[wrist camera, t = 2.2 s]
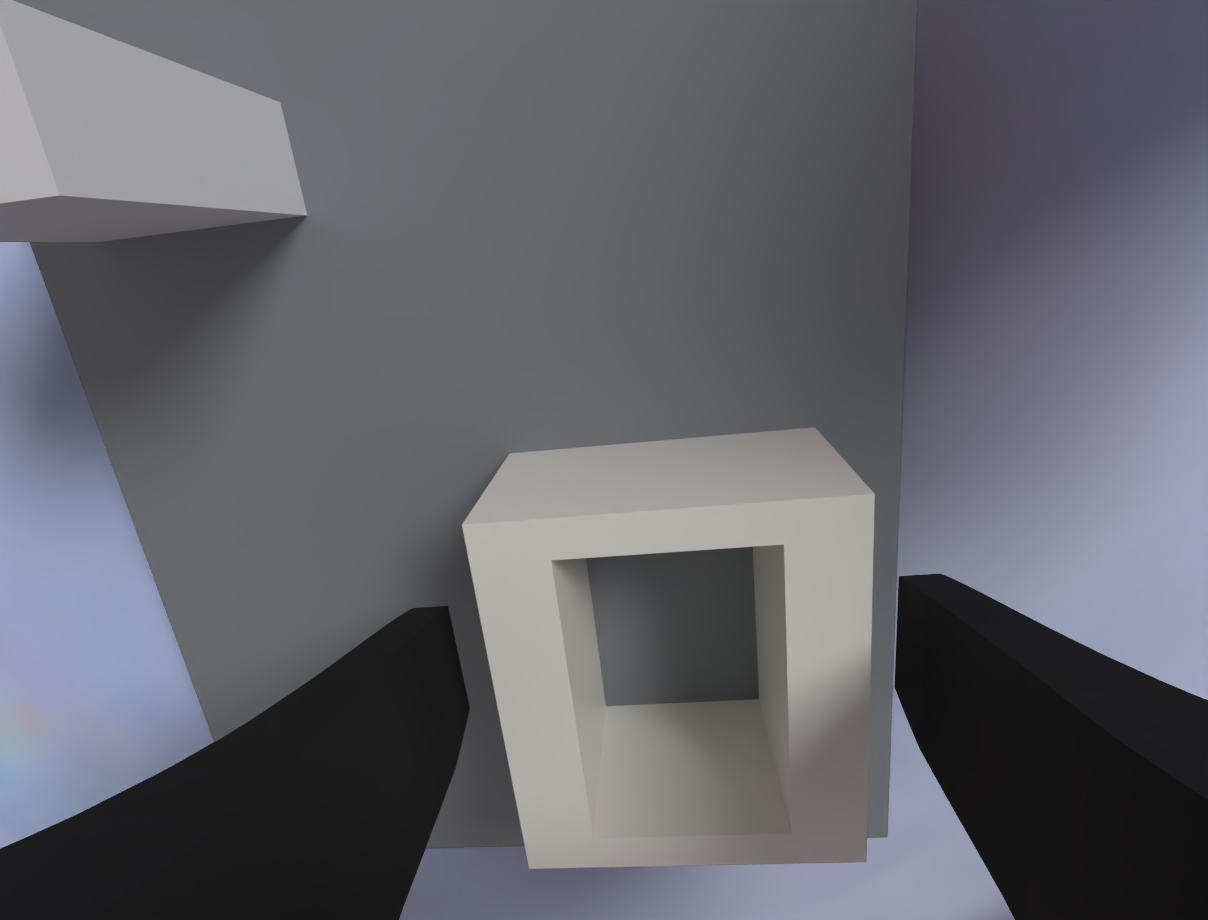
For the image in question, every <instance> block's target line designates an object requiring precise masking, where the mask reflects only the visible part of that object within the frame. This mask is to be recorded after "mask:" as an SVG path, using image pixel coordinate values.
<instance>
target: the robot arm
mask: <svg viewBox="0 0 1208 920" xmlns="http://www.w3.org/2000/svg"><path fill="white" fill-rule="evenodd" d="M895 689H896V692H897V694H898V697H899V699H900V702H901V704H902V707H903V710H904V712H905V715H906V717H907V720H908V722H909V725H910V727H911V729H912V732H913V734H914V736H915V739H916V741H917V744H918V746H919V748H920V750H921V752H922V754H923V755H924V757H925V759H926V761H927V763H928V765H929V766H930V768H931V770H932V772H933V774H934V775H935V777H936V779H937V781H938V782H939V784H940V786H941V788H942V790H943V791H944V793H945V795H946V797H947V799H948V800H949V802H950V804H951V806H952V807H953V809H954V811H955V813H956V814H957V816H958V818H959V820H960V821H961V823H962V825H963V827H964V828H965V830H966V832H967V834H968V835H969V837H970V839H971V841H972V843H973V844H974V846H975V848H976V850H977V851H978V853H979V855H980V857H981V858H982V860H983V862H984V864H985V865H986V867H987V869H988V871H989V872H990V874H991V876H992V878H993V880H994V881H995V883H996V885H997V887H998V888H999V890H1000V892H1001V894H1002V895H1003V897H1004V899H1005V901H1006V903H1007V905H1008V907H1009V909H1010V911H1011V913H1012V915H1013V916H1014V918H1015V920H1208V700H1206V699H1203V698H1201V697H1198V696H1195V695H1193V694H1191V693H1188V692H1186V691H1183V690H1181V689H1179V688H1176V687H1174V686H1172V685H1169V684H1167V683H1165V682H1162V681H1160V680H1158V679H1155V678H1153V677H1151V676H1149V675H1147V674H1144V673H1142V672H1140V671H1138V670H1136V669H1133V668H1131V667H1129V666H1127V665H1125V664H1123V663H1120V662H1118V661H1116V660H1114V659H1112V658H1109V657H1107V656H1105V655H1103V654H1101V653H1099V652H1097V651H1095V650H1093V649H1090V648H1088V647H1086V646H1084V645H1082V644H1080V643H1078V642H1076V641H1074V640H1072V639H1070V638H1068V637H1066V636H1064V635H1062V634H1060V633H1058V632H1056V631H1054V630H1052V629H1050V628H1048V627H1046V626H1044V625H1042V624H1040V623H1038V622H1036V621H1034V620H1033V619H1031V618H1029V617H1027V616H1025V615H1023V614H1021V613H1019V612H1017V611H1015V610H1013V609H1011V608H1009V607H1007V606H1006V605H1004V604H1002V603H1000V602H998V601H996V600H994V599H992V598H990V597H988V596H986V595H984V594H982V593H980V592H978V591H977V590H975V589H973V588H971V587H969V586H967V585H965V584H962V583H960V582H958V581H956V580H954V579H952V578H949V577H947V576H945V575H942V574H928V575H913V576H899V589H898V615H897V641H896V667H895ZM469 710H470V706H469V701H468V697H467V692H466V687H465V683H464V678H463V673H462V669H461V664H460V659H459V655H458V650H457V645H456V641H455V636H454V631H453V627H452V622H451V617H450V613H449V608H448V606H435V607H420V608H412V609H410V610H408V611H407V612H405V613H403V614H402V615H400V616H399V617H397V618H396V619H394V620H393V621H391V622H390V623H388V624H387V625H385V626H384V627H383V628H381V629H380V630H378V631H377V632H376V633H374V634H373V635H372V636H370V637H369V638H367V639H366V640H365V641H363V642H362V643H361V644H359V645H358V646H357V647H355V648H354V649H352V650H351V651H350V652H348V653H347V654H345V655H344V656H343V657H341V658H340V659H339V660H337V661H336V662H334V663H333V664H332V665H330V666H329V667H328V668H326V669H325V670H323V671H322V672H321V673H319V674H318V675H317V676H315V677H314V678H312V679H311V680H309V681H308V682H306V683H305V684H303V685H302V686H300V687H299V688H297V689H296V690H294V691H293V692H292V693H290V694H289V695H287V696H286V697H284V698H283V699H281V700H280V701H278V702H277V703H275V704H274V705H272V706H271V707H269V708H268V709H266V710H265V711H263V712H262V713H260V714H259V715H257V716H256V717H254V718H253V719H251V720H250V721H248V722H247V723H245V724H243V725H242V726H240V727H239V728H237V729H235V730H234V731H232V732H230V733H229V734H227V735H225V736H224V737H222V738H221V739H219V740H217V741H215V742H214V743H212V744H210V745H209V746H207V747H205V748H203V749H202V750H200V751H198V752H196V753H195V754H193V755H191V756H189V757H188V758H186V759H184V760H182V761H181V762H179V763H177V764H175V765H173V766H172V767H170V768H168V769H166V770H164V771H162V772H160V773H158V774H157V775H155V776H153V777H151V778H149V779H147V780H145V781H143V782H141V783H139V784H137V785H135V786H133V787H131V788H129V789H127V790H125V791H123V792H121V793H119V794H117V795H115V796H113V797H111V798H109V799H107V800H105V801H103V802H101V803H99V804H97V805H95V806H93V807H91V808H89V809H87V810H85V811H83V812H81V813H79V814H77V815H75V816H73V817H70V818H68V819H66V820H64V821H62V822H60V823H57V824H55V825H53V826H51V827H48V828H46V829H44V830H42V831H40V832H37V833H35V834H33V835H31V836H29V837H26V838H24V839H22V840H20V841H17V842H15V843H13V844H10V845H8V846H6V847H3V848H1V849H0V920H399V918H400V915H401V912H402V909H403V906H404V903H405V901H406V898H407V896H408V893H409V890H410V888H411V885H412V882H413V880H414V877H415V875H416V872H417V869H418V867H419V864H420V862H421V859H422V856H423V854H424V851H425V848H426V846H427V843H428V841H429V838H430V835H431V833H432V830H433V827H434V825H435V822H436V820H437V817H438V814H439V812H440V809H441V806H442V804H443V801H444V798H445V796H446V793H447V790H448V788H449V785H450V782H451V779H452V777H453V774H454V771H455V768H456V765H457V761H458V757H459V753H460V749H461V745H462V741H463V737H464V733H465V728H466V723H467V719H468V714H469Z"/></svg>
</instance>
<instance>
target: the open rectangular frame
mask: <svg viewBox="0 0 1208 920" xmlns="http://www.w3.org/2000/svg"><path fill="white" fill-rule="evenodd" d="M874 503H875V494H874V492H873V491H872V490H871V489H870V488H869V487H868V486H867V485H866V484H865V482H864V481H863V480H862V479H861V478H860V477H859V476H858V475H857V474H856V472H855V471H854V470H853V469H852V468H851V467H850V466H849V465H848V463H847V462H846V461H845V460H844V459H843V458H842V457H841V456H840V455H839V453H838V452H837V451H836V450H835V449H834V448H833V447H832V446H831V445H830V443H829V442H828V441H827V440H826V439H825V438H824V437H823V436H822V435H821V433H820V432H819V431H818V430H817V429H816V428H815V427H812V428H801V429H789V430H777V431H766V432H754V433H742V434H731V435H719V436H708V437H696V438H684V439H673V440H661V441H649V442H638V443H626V444H614V445H603V446H591V447H579V448H568V449H556V450H544V451H533V452H521V453H510V454H509V455H508V456H507V458H506V459H505V461H504V462H503V464H502V465H501V467H500V468H499V470H498V471H497V473H496V474H495V476H494V477H493V479H492V480H491V482H490V483H489V485H488V486H487V488H486V489H485V491H484V492H483V494H482V495H481V497H480V498H479V500H478V501H477V503H476V504H475V506H474V507H473V509H472V510H471V512H470V513H469V515H468V516H467V518H466V519H465V521H464V522H463V524H462V528H463V533H464V538H465V544H466V549H467V554H468V559H469V564H470V569H471V574H472V579H473V584H474V590H475V595H476V600H477V605H478V610H479V615H480V620H481V625H482V630H483V636H484V641H485V646H486V651H487V656H488V661H489V666H490V671H491V676H492V681H493V687H494V692H495V697H496V702H497V707H498V712H499V717H500V722H501V727H502V733H503V738H504V743H505V748H506V753H507V758H508V763H509V768H510V773H511V779H512V784H513V789H514V794H515V799H516V804H517V809H518V814H519V819H520V824H521V830H522V835H523V840H524V845H525V850H526V855H527V860H528V865H529V869H548V868H597V867H646V866H696V865H745V864H794V863H843V862H866V855H867V811H868V767H869V723H870V679H871V635H872V591H873V547H874ZM740 547H753V565H754V589H755V613H756V636H757V660H758V684H759V699H754V700H732V701H710V702H688V703H666V704H644V705H622V706H606V704H605V696H604V688H603V681H602V673H601V666H600V658H599V651H598V643H597V635H596V628H595V620H594V613H593V605H592V598H591V590H590V582H589V575H588V567H587V560H586V558H594V557H608V556H623V555H638V554H652V553H667V552H681V551H696V550H711V549H725V548H740Z"/></svg>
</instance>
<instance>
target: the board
mask: <svg viewBox="0 0 1208 920" xmlns="http://www.w3.org/2000/svg"><path fill="white" fill-rule="evenodd" d="M916 25H917V0H0V242H30V244H31V247H32V250H33V252H34V255H35V258H36V261H37V263H38V266H39V269H40V271H41V274H42V277H43V280H44V282H45V285H46V288H47V290H48V293H49V296H50V298H51V301H52V304H53V307H54V309H55V312H56V315H57V317H58V320H59V323H60V326H61V328H62V331H63V334H64V336H65V339H66V342H67V344H68V347H69V350H70V353H71V355H72V358H73V361H74V363H75V366H76V369H77V372H78V374H79V377H80V380H81V382H82V385H83V388H84V390H85V393H86V396H87V399H88V401H89V404H90V407H91V409H92V412H93V415H94V418H95V420H96V423H97V426H98V428H99V431H100V434H101V436H102V439H103V442H104V445H105V447H106V450H107V453H108V455H109V458H110V461H111V464H112V466H113V469H114V472H115V474H116V477H117V480H118V482H119V485H120V488H121V491H122V493H123V496H124V499H125V501H126V504H127V507H128V510H129V512H130V515H131V518H132V520H133V523H134V526H135V528H136V531H137V534H138V537H139V539H140V542H141V545H142V547H143V550H144V553H145V556H146V558H147V561H148V564H149V566H150V569H151V572H152V574H153V577H154V580H155V583H156V585H157V588H158V591H159V593H160V596H161V599H162V602H163V604H164V607H165V610H166V612H167V615H168V618H169V620H170V623H171V626H172V629H173V631H174V634H175V637H176V639H177V642H178V645H179V648H180V650H181V653H182V656H183V658H184V661H185V664H186V666H187V669H188V672H189V675H190V677H191V680H192V683H193V685H194V688H195V691H196V694H197V696H198V699H199V702H200V704H201V707H202V710H203V712H204V715H205V718H206V721H207V723H208V726H209V729H210V731H211V734H212V737H213V740H214V742H215V741H217V740H219V739H221V738H222V737H224V736H225V735H227V734H229V733H230V732H232V731H234V730H235V729H237V728H239V727H240V726H242V725H243V724H245V723H247V722H248V721H250V720H251V719H253V718H254V717H256V716H257V715H259V714H260V713H262V712H263V711H265V710H266V709H268V708H269V707H271V706H272V705H274V704H275V703H277V702H278V701H280V700H281V699H283V698H284V697H286V696H287V695H289V694H290V693H292V692H293V691H294V690H296V689H297V688H299V687H300V686H302V685H303V684H305V683H306V682H308V681H309V680H311V679H312V678H314V677H315V676H317V675H318V674H319V673H321V672H322V671H323V670H325V669H326V668H328V667H329V666H330V665H332V664H333V663H334V662H336V661H337V660H339V659H340V658H341V657H343V656H344V655H345V654H347V653H348V652H350V651H351V650H352V649H354V648H355V647H357V646H358V645H359V644H361V643H362V642H363V641H365V640H366V639H367V638H369V637H370V636H372V635H373V634H374V633H376V632H377V631H378V630H380V629H381V628H383V627H384V626H385V625H387V624H388V623H390V622H391V621H393V620H394V619H396V618H397V617H399V616H400V615H402V614H403V613H405V612H407V611H408V610H410V609H412V608H420V607H435V606H448V608H449V613H450V617H451V622H452V627H453V631H454V636H455V641H456V645H457V650H458V655H459V659H460V664H461V669H462V673H463V678H464V683H465V687H466V692H467V697H468V701H469V706H470V710H469V714H468V719H467V723H466V728H465V733H464V737H463V741H462V745H461V749H460V753H459V757H458V761H457V765H456V768H455V771H454V774H453V777H452V779H451V782H450V785H449V788H448V790H447V793H446V796H445V798H444V801H443V804H442V806H441V809H440V812H439V814H438V817H437V820H436V822H435V825H434V827H433V830H432V833H431V835H430V838H429V841H428V843H427V846H426V848H462V847H503V846H525V845H524V840H523V835H522V830H521V824H520V819H519V814H518V809H517V804H516V799H515V794H514V789H513V784H512V779H511V773H510V768H509V763H508V758H507V753H506V748H505V743H504V738H503V733H502V727H501V722H500V717H499V712H498V707H497V702H496V697H495V692H494V687H493V681H492V676H491V671H490V666H489V661H488V656H487V651H486V646H485V641H484V636H483V630H482V625H481V620H480V615H479V610H478V605H477V600H476V595H475V590H474V584H473V579H472V574H471V569H470V564H469V559H468V554H467V549H466V544H465V538H464V533H463V528H462V524H463V522H464V521H465V519H466V518H467V516H468V515H469V513H470V512H471V510H472V509H473V507H474V506H475V504H476V503H477V501H478V500H479V498H480V497H481V495H482V494H483V492H484V491H485V489H486V488H487V486H488V485H489V483H490V482H491V480H492V479H493V477H494V476H495V474H496V473H497V471H498V470H499V468H500V467H501V465H502V464H503V462H504V461H505V459H506V458H507V456H508V455H509V454H510V453H521V452H533V451H544V450H556V449H568V448H579V447H591V446H603V445H614V444H626V443H638V442H649V441H661V440H673V439H684V438H696V437H708V436H719V435H731V434H742V433H754V432H766V431H777V430H789V429H801V428H812V427H815V428H816V429H817V430H818V431H819V432H820V433H821V435H822V436H823V437H824V438H825V439H826V440H827V441H828V442H829V443H830V445H831V446H832V447H833V448H834V449H835V450H836V451H837V452H838V453H839V455H840V456H841V457H842V458H843V459H844V460H845V461H846V462H847V463H848V465H849V466H850V467H851V468H852V469H853V470H854V471H855V472H856V474H857V475H858V476H859V477H860V478H861V479H862V480H863V481H864V482H865V484H866V485H867V486H868V487H869V488H870V489H871V490H872V491H873V492H874V494H875V503H874V547H873V591H872V635H871V679H870V723H869V767H868V811H867V838H879V837H887V835H888V807H889V779H890V751H891V723H892V695H893V667H894V639H895V612H896V584H897V556H898V528H899V500H900V472H901V444H902V416H903V388H904V360H905V332H906V304H907V276H908V248H909V220H910V192H911V164H912V136H913V109H914V81H915V53H916ZM586 560H587V567H588V575H589V582H590V590H591V598H592V605H593V613H594V620H595V628H596V635H597V643H598V651H599V658H600V666H601V673H602V681H603V688H604V696H605V704H606V706H622V705H644V704H666V703H688V702H710V701H732V700H754V699H759V684H758V660H757V636H756V613H755V589H754V565H753V547H740V548H725V549H711V550H696V551H681V552H667V553H652V554H638V555H623V556H608V557H594V558H586Z"/></svg>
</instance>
